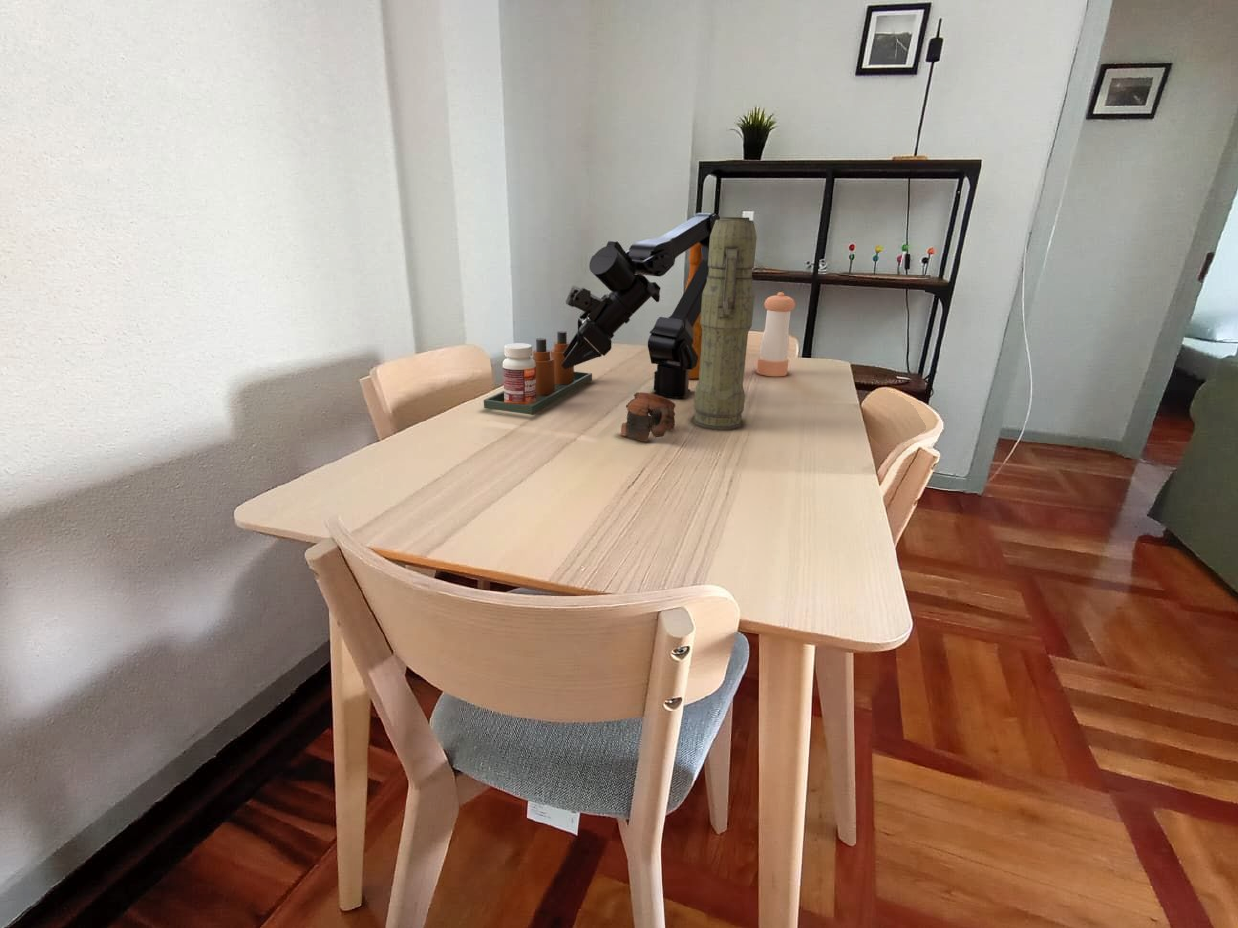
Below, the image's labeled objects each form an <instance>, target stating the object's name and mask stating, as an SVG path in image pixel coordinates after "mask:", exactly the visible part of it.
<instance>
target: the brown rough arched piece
mask: <svg viewBox="0 0 1238 928" xmlns="http://www.w3.org/2000/svg"><path fill="white" fill-rule="evenodd" d="M633 397H634V398H633V399H631V400H630V401H629V402H627V404H626V405H625V408H626V409H627V415H626V422H623V423H621V426H620V436H621V437H627V438H630V439H634V440H637V441H640V442H644V443H647V442H648V441H649V436H650V433H651V434H652V436H653V437H655V438H656V439H658V438H662V437H664V436H665V433H666V432H667V431H671V430H674V428H675V426H676V423H675V422H676V420H675V416H676V412H675V408H676V404H675V402H673V401H672V400H670V399H669V398H667V397H663V396H658V395H655V394H653V393H650V392H642V391H641V392H635V393H634V395H633Z"/></svg>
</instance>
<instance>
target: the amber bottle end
mask: <svg viewBox="0 0 1238 928" xmlns="http://www.w3.org/2000/svg"><path fill="white" fill-rule="evenodd" d="M567 335H568V334H567V331H565V330H558V331H556V336H557V337H556V341H555V342H553V348H552V349H550V357H552V358H554V378H555V384H557V385H568V384H571V383H573V382H574V371H575V366H573V367H570V368H568V369H564V368H563V367H562V366H561V365H562V363H563V362H564V360H565V359H566V358H565V357H564V356H563V353H564V351H565V350H566V348H567V347H568V345H569V344H570V342H569V341H568V340H567V339H568V336H567Z"/></svg>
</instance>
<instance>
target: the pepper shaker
mask: <svg viewBox="0 0 1238 928" xmlns="http://www.w3.org/2000/svg"><path fill="white" fill-rule="evenodd" d="M763 304H764V308H765V310H766V316H765V324H764V325H765V326H764V330H763V333H762V337H761V342H760V349H759V356H758V358H757V362H756V363H757V364H756V374H758V375H761V376H766V377H784V376H787V374H788V368H789V359H788V356H789V349H790V322H791V312H792V311H794V309H795V307H796V302H795V300H794V298H792V297H791V296H788V295H785V293H784V292H783V291H779V292H778V293H776V295H771V296H768V297H767V298H766V299H765V300H764V303H763Z"/></svg>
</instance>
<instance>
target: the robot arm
mask: <svg viewBox="0 0 1238 928" xmlns="http://www.w3.org/2000/svg"><path fill="white" fill-rule="evenodd" d="M720 217H721V216H720V215H718V214H716V213H715V212H696V213H694V215H692V217H691V218H689V219H688V220H686V221H684V222H683V223H681V224H679V225H678V226H676V227H674V228H673V229H671V230H669V231H667V232H666V233H665V234H662V235H660V236H658V237H653V238H647V239H643V240H639V241H636V242H633V243H632V244H631V245H630V247H628V248H629V249H628V250H627V251H625V250H624V248H623V247H622V245H621V243H620V242H619V241H617V240H608V241H607V243H606V246H603V247H601V248H600V249H598V250H597V252H595V254H594V255H592V256H591V258H590V260H589V266H588V267H589V271H590V272H591V273H592V274H593V275H594V276H595V277H596V279H597V280H599V282H601V283H602V284H603V285H604V286H605V287H606V288H607V289H608V290H609V291H610V293H609V294H608V293H607V294H603V295H602V296H601V297H598V296H596V295H594V294H593V293H591V291H592V290H588V289H586V287H584V286H583V287H578V286H577V285H572V286H571V288H570V291H569V293H568V295H567V297H566V300H565V305H567V306H569V307H571V308H576V309H578V310H580V311H582V312H581V313H580V314H579V315H578V316H579V318H577V331H576V332H575V334H574V336H573V337H572V339H571V340H570V342H569V343H570V344H569V345H568V347H567V348H566V350H565V351H564V353H563V356H564V357H565V358H566V359H565V360H564V362H563V363H562V365H561V366H562V367H563V368H564V369H568V368H570V367H573V366H574V367H575V366H577V365H581V364H583V363H586V362H589V361H591V360H594V359H598V358H601V357H602V356H603V357H605V356H606V355H607V354H608V353H609V352H610V351H611V350H612V343H613V342H612V339H613V338H614V337H615V333H616V332H617V331H618V330H619V329H620V328H621V327H622V326H623V325H624V324H625V325H626V324H628V323H629V322H630V321H631V319H630V318H631V317H632V316H633V315H634V314H635V313H636V312H637V311H638V310H639V309H641V307H642V306H643V305H644V304H645V303H646V302H648V300H649V299H651V298H652V299H653V300H654V301H655V302H656V303H659V302H660V298H661V296H660V292H661V288H662V287H661V286H660V285H659V284H658V283H657V282H656V281H654V282H652V281H650V280H649V279H648V278H647V277H646V276H650V277H663V276H665V274H666V273H668V272H669V271H670V270H671V269H672V268H673V267H674V265H675V262H676V259H677V258H678V257H679V256H680V255H682V254H683V253H685V252H686V251H688V250H690V248H691V247H692V246H694V245H696V244H697V243H700V244H701V245H702V246H701V251H702V261H701V263H700V265H699V267H698V268H697V270H696V272H695V274H694V276H693V277H692V279H691V281H690V283H689V285H688V287H687V288H686V287H685V289H684V292H683V294H682V295H681V297H680V299H679V301H678V303H677V305H676V306H675V308H674V310H673V312H672V314H670V316H668V317H664V316H659V317H658V318H657V319H656V321H655V324H654V326H653V327H652V329H651V330H650V331H649V334H650V335H649V337H648V339H647V350H648V354H649V359H650V363H651V365H652V364H653V365H656V370H655V371H654V373H653V375H654V376H653V391H654V392H653V393H652V394H655V395H658V396H661V397H664V398H671V399H681V400H683V399H684V398H685V397H687V396H688V395H689V394H690V393H691V389H689V385H690V384H689V383H690V379H689V370H690V369H693V368H694V367H696V366H697V362H698V358H699V357H698V355H697V354H696V352H695V351H694V349H693V347H692V344H693V341H694V338H693V326H694V324H695V322H696V320H697V318H698V316H699V314H700V313H701V305H702V293H703V290H704V288H705V285H706V283H707V276H708V273H709V267H708V257H709V243H710V235H711V232H712V229H713V226H714V224H715V221H716V220H720Z"/></svg>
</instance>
